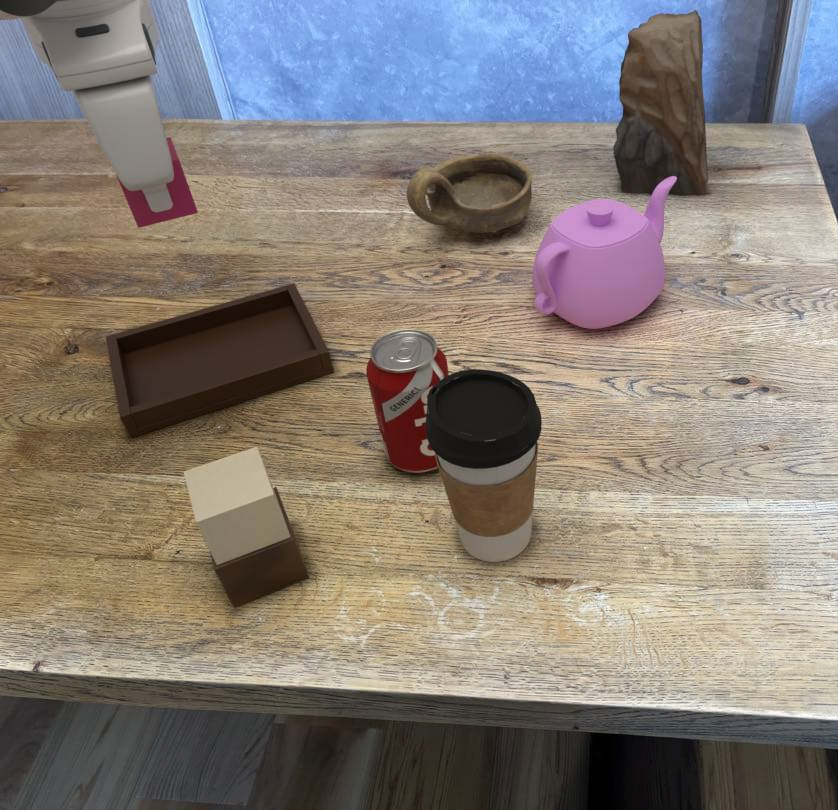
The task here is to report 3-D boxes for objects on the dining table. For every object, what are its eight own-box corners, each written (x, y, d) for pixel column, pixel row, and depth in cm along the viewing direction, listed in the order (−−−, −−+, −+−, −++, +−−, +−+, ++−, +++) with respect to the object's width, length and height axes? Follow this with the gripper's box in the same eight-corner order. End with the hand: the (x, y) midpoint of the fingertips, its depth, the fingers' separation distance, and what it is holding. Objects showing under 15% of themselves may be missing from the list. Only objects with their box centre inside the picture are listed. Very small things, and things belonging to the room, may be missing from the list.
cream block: (217, 565, 60) (195, 522, 57) (204, 514, 64) (183, 471, 60) (290, 537, 62) (274, 493, 58) (273, 489, 65) (257, 445, 62)
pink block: (138, 228, 69) (115, 173, 66) (131, 203, 73) (109, 149, 69) (198, 213, 71) (179, 159, 68) (189, 189, 74) (170, 136, 71)
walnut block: (233, 608, 63) (214, 569, 60) (219, 553, 67) (200, 513, 64) (309, 578, 65) (294, 538, 62) (291, 526, 69) (276, 486, 66)
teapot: (579, 362, 84) (579, 264, 76) (499, 306, 92) (492, 212, 84) (709, 286, 93) (721, 192, 85) (627, 241, 101) (631, 151, 93)
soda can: (374, 471, 73) (348, 369, 65) (401, 420, 78) (380, 319, 70) (445, 483, 72) (428, 380, 64) (468, 431, 77) (455, 329, 69)
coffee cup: (467, 486, 72) (448, 353, 62) (559, 507, 70) (555, 373, 59) (429, 561, 66) (401, 428, 56) (528, 586, 64) (518, 453, 54)
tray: (130, 438, 78) (119, 417, 76) (115, 357, 87) (105, 336, 85) (334, 372, 84) (328, 351, 82) (300, 303, 93) (294, 282, 91)
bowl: (558, 218, 105) (556, 145, 99) (453, 274, 97) (443, 197, 90) (488, 184, 113) (482, 114, 106) (385, 232, 104) (371, 159, 98)
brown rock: (611, 194, 110) (615, 39, 96) (615, 152, 119) (619, 5, 105) (707, 196, 108) (724, 40, 95) (703, 153, 118) (719, 5, 104)
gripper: (41, -5, 67) (107, 153, 77) (53, 76, 54) (132, 256, 63) (122, -17, 69) (177, 138, 79) (153, 57, 56) (215, 235, 65)
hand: (157, 191), depth 71 cm, fingers closed on pink block, 5 cm apart
